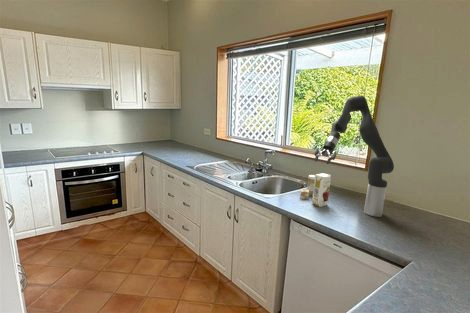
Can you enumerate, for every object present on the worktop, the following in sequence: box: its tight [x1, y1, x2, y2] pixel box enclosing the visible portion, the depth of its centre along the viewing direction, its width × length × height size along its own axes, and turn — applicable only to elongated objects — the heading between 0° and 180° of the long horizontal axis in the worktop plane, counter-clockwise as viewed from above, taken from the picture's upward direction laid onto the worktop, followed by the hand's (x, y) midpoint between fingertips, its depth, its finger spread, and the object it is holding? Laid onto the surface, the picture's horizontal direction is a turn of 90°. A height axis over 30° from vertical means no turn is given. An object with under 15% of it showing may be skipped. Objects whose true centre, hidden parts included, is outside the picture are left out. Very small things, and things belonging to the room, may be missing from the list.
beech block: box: [299, 188, 309, 200], centre depth 171 cm, size 5×5×5 cm
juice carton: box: [311, 172, 332, 208], centre depth 160 cm, size 8×9×19 cm
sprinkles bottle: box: [306, 174, 315, 197], centre depth 176 cm, size 5×5×14 cm
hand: (321, 162), depth 182 cm, fingers open, 8 cm apart
